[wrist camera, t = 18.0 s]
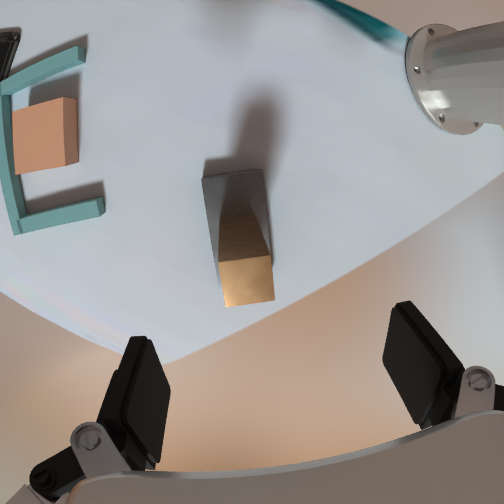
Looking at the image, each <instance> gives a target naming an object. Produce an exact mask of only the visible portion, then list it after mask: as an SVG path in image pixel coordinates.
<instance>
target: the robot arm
mask: <svg viewBox="0 0 504 504" xmlns="http://www.w3.org/2000/svg"><path fill="white" fill-rule="evenodd" d="M406 71H407V76H408V80H409V84H410V87H411V90H412V92H413V95H414V97H415V99H416V101H417V103H418V105H419V106H420V108H421V109H422V111H423V112H424V114H425V115H426V116H427V117H428V118H429V119H430V120H431V121H432V122H433V123H434V124H435V125H436V126H438V127H439V128H440V129H442V130H444V131H446V132H448V133H452V134H459V135H466V134H471V133H473V132H475V131H477V130H478V129H479V128H480V127H481V126H482V125H483V123H490V124H498V125H504V21H503V22H498V23H493V24H488V25H483V26H479V27H474V28H471V29H466V30H462V31H457V30H455V29H454V28H451V27H449V26H447V25H443V24H430V25H427V26H424V27H422V28H421V29H419V30H417V31H416V32H415V33H414V34H413V35H412V37H411V39H410V41H409V43H408V47H407V51H406ZM383 364H384V366H385V368H386V370H387V372H388V373H389V375H390V377H391V379H392V381H393V383H394V385H395V387H396V388H397V390H398V392H399V394H400V396H401V398H402V400H403V401H404V404H405V406H406V407H407V410H408V412H409V413H410V415H411V417H412V419H413V421H414V423H415V424H419V426H420V428H421V430H422V431H419V432H416V433H413V434H410V435H407V436H405V437H402V438H399V439H396V440H393V441H389V442H386V443H383V444H380V445H376V446H373V447H369V448H366V449H362V450H358V451H355V452H351V453H346V454H342V455H338V456H333V457H329V458H324V459H319V460H313V461H309V462H302V463H297V464H290V465H283V466H275V467H267V468H258V469H247V470H233V471H209V472H167V471H166V472H165V471H145V469H149V470H155V466H156V463H159V462H160V459H161V452H162V444H163V438H164V431H165V424H166V418H167V412H168V406H169V400H170V392H171V391H170V386H169V383H168V381H167V378H166V376H165V373H164V371H163V368H162V366H161V363H160V361H159V358H158V356H157V353H156V351H155V348H154V345H153V343H152V340H150V339H147V337H146V336H132V337H130V339H129V342H128V344H127V347H126V350H125V352H124V355H123V357H122V360H121V363H120V365H119V368H118V370H116V371H114V373H113V376H112V378H111V381H110V384H109V387H108V389H107V392H106V395H105V398H104V400H103V403H102V406H101V409H100V412H99V415H98V418H97V421H96V422H86V423H83V424H81V425H79V426H78V427H76V428H75V430H74V431H73V432H72V434H71V438H70V443H71V446H69V447H68V448H66V449H64V450H63V451H61V452H59V453H58V454H56V455H54V456H52V457H50V458H49V459H47V460H45V461H43V462H41V463H40V464H38V465H37V466H35V467H34V468H33V470H32V471H31V474H30V484H29V485H28V486H27V485H25V484H24V485H23V487H22V488H21V489H20V490H19V491H18V492H17V493H16V494H15V495H14V496H13V497H12V498H11V499H10V500H9V501H8V502H7V503H6V504H504V386H501V385H497V384H495V378H494V376H493V374H492V373H491V372H490V371H489V370H488V369H486V368H484V367H481V366H472V367H469V368H467V369H466V370H465V368H464V367H463V364H462V363H461V362H460V360H459V359H458V358H457V357H456V355H455V354H454V353H453V351H452V350H451V349H450V348H449V346H448V345H447V344H446V343H445V341H444V340H443V339H442V338H441V336H440V335H439V334H438V333H437V331H436V330H435V329H434V328H433V327H432V326H431V324H430V323H429V322H428V321H427V319H425V317H424V316H423V315H422V313H421V312H420V311H419V310H418V309H417V308H416V306H415V305H414V304H413V303H412V302H411V301H405V302H400V303H397V304H396V305H395V307H394V308H392V311H391V316H390V323H389V328H388V333H387V338H386V343H385V348H384V353H383ZM430 426H432V427H430ZM428 427H430V428H428ZM425 428H427V429H425ZM423 429H424V430H423Z"/></svg>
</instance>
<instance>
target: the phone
mask: <svg viewBox="0 0 504 504" xmlns="http://www.w3.org/2000/svg"><path fill="white" fill-rule="evenodd" d="M19 42H20V35H19V34H18V33H16V32H3V33H0V82H1V81H3V80H5V79H7V78H8V75H9V72H10V68H11V65H12V62H13V59H14V56H15V53H16V50H17V48H18V45H19Z"/></svg>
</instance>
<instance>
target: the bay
mask: <svg viewBox="0 0 504 504" xmlns="http://www.w3.org/2000/svg"><path fill="white" fill-rule="evenodd" d="M83 63H85V52H84V48H82V47H80V46H78V45H77V46H75V47H72V48H70V49H67V50H65V51H62V52H60V53H58V54H55V55H53V56H51V57H48V58H46V59H44V60H42V61H40V62H38V63H35V64H33V65H31V66H29V67H27V68H25V69H23V70H22V71H20V72H18V73H16V74H14V75H12V76H10V77H8V78H7V79H5V80H3V81H1V82H0V179H1V184H2V189H3V194H4V199H5V203H6V207H7V211H8V215H9V219H10V223H11V227H12V230H13V234H14V236H15V235H19V234H23V233H27V232H31V231H35V230H39V229H44V228H48V227H53V226H57V225H62V224H66V223H71V222H76V221H80V220H85V219H90V218H95V217H100V216H101V215H102V214H104V213H105V207H104V203H103V198H102V197H98V198H93V199H89V200H84V201H80V202H76V203H71V204H67V205H63V206H59V207H55V208H51V209H47V210H43V211H40V212H36V213H32V214H29V215H27V212H26V208H25V204H24V199H23V195H22V190H21V185H20V180H19V175H16V174H15V164H14V150H13V134H12V125H11V113H10V95H12V94H14V93H15V92H17V91H19V90H21V89H23V88H25V87H28V86H30V85H32V84H34V83H36V82H38V81H40V80H43V79H45V78H47V77H49V76H52V75H54V74H57V73H59V72H62V71H64V70H67V69H69V68H72V67H74V66H77V65H80V64H83Z"/></svg>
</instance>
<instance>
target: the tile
mask: <svg viewBox="0 0 504 504" xmlns="http://www.w3.org/2000/svg"><path fill="white" fill-rule="evenodd" d="M12 124H13V150H14V164H15V174H16V175H18V174H23V173H28V172H33V171H39V170H44V169H50V168H56V167H62V166H67V165H70V164H74V163H77V162H79V156H78V137H77V99H73V98H66V97H61V98H58V99H54V100H50V101H46V102H43V103H39V104H36V105H32V106H29V107H26V108H23V109H20V110H17V111H14V112H12Z"/></svg>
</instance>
